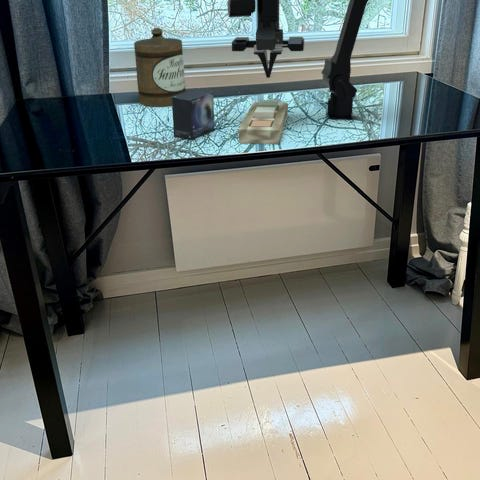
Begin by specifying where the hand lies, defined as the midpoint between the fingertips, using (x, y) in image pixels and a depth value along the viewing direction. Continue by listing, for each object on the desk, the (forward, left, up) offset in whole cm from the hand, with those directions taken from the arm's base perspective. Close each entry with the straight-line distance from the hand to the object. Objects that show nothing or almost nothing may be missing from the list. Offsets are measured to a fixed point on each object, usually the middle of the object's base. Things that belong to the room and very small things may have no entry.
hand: (268, 77), depth 151 cm
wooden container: (+36, -19, -12) cm, 43 cm away
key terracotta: (0, +15, -11) cm, 18 cm away
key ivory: (0, +7, -9) cm, 12 cm away
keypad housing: (0, +7, -12) cm, 14 cm away
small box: (+18, +13, -12) cm, 25 cm away
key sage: (0, 0, -9) cm, 9 cm away
